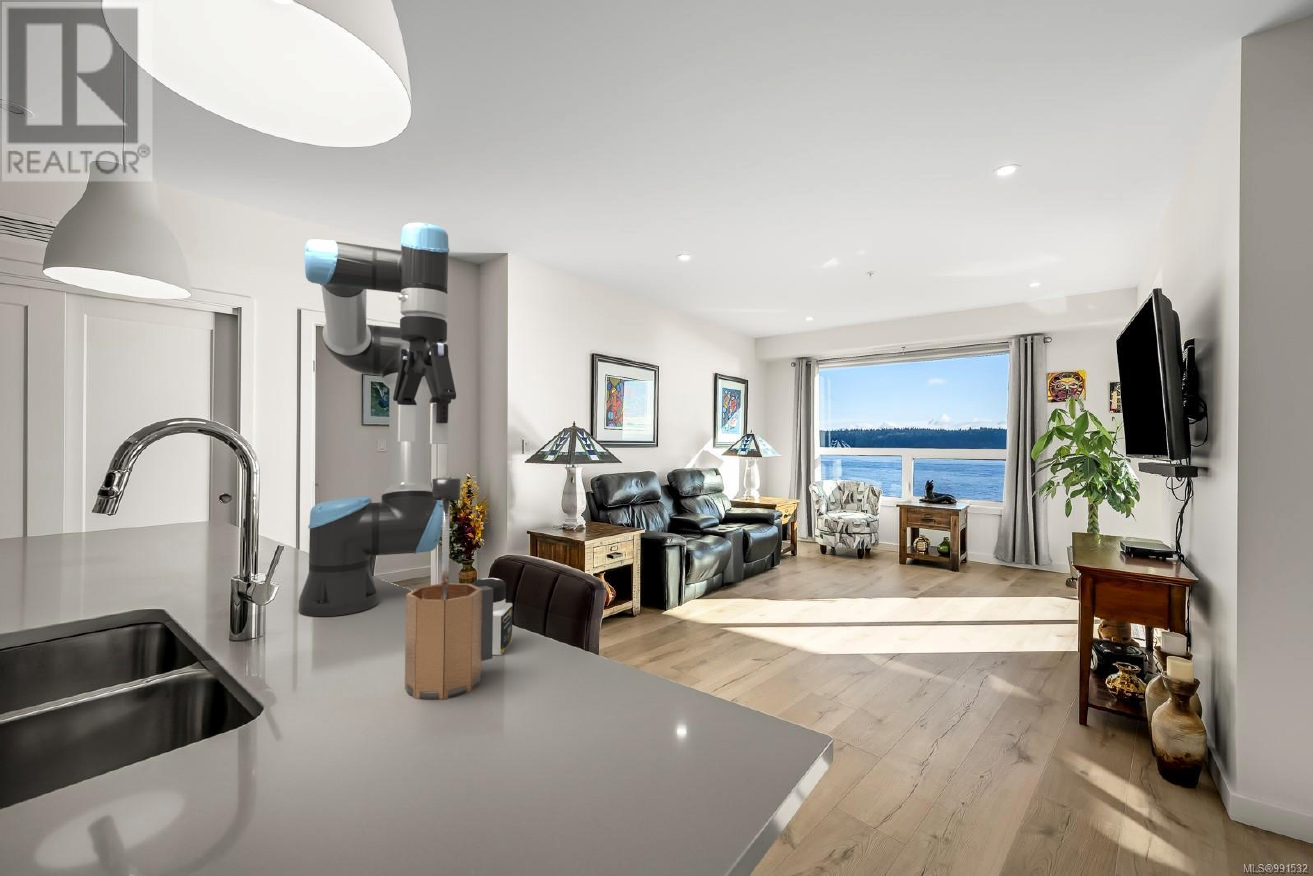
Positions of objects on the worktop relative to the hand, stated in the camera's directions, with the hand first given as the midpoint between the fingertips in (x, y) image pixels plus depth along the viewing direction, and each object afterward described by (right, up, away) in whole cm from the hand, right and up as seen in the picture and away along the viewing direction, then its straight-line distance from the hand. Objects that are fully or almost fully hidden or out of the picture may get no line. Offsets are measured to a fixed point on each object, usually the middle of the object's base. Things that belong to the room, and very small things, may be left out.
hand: (422, 442), depth 101 cm
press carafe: (+9, -36, -11) cm, 39 cm away
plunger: (+8, -27, -12) cm, 31 cm away
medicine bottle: (+10, -37, +4) cm, 38 cm away
